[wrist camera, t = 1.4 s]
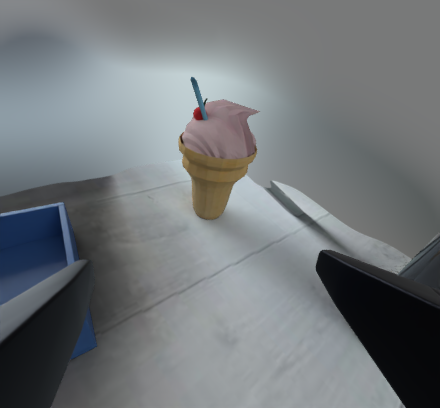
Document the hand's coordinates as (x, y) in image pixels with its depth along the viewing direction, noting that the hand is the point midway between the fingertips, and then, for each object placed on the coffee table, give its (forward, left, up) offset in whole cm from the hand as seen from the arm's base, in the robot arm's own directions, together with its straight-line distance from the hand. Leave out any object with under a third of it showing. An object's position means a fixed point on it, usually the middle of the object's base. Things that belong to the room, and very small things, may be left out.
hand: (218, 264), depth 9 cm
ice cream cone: (+20, -14, -17) cm, 30 cm away
